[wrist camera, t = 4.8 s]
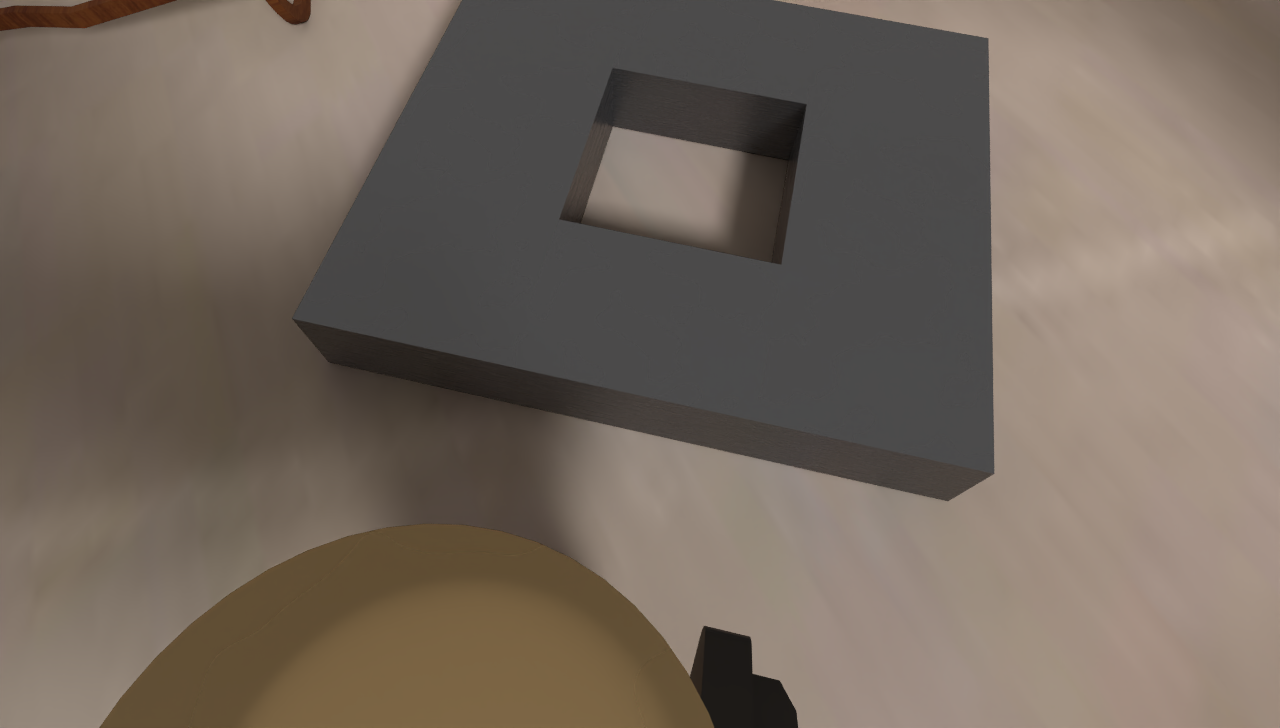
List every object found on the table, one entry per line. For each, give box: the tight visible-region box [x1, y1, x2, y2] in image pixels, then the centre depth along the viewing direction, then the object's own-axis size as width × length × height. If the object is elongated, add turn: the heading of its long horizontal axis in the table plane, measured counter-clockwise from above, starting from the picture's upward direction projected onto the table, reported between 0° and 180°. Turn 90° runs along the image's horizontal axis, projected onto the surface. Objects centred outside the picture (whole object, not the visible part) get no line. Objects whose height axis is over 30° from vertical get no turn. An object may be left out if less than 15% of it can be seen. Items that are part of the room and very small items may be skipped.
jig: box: [292, 0, 994, 501], centre depth 21 cm, size 18×16×2 cm
